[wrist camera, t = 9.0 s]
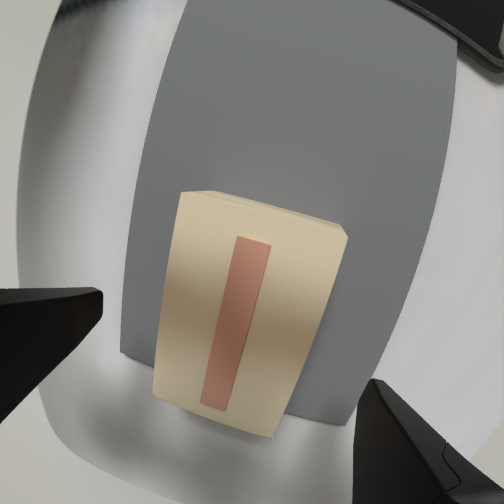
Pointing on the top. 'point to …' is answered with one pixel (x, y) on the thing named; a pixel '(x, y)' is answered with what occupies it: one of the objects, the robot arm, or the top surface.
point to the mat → (301, 160)
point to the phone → (469, 26)
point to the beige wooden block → (241, 307)
